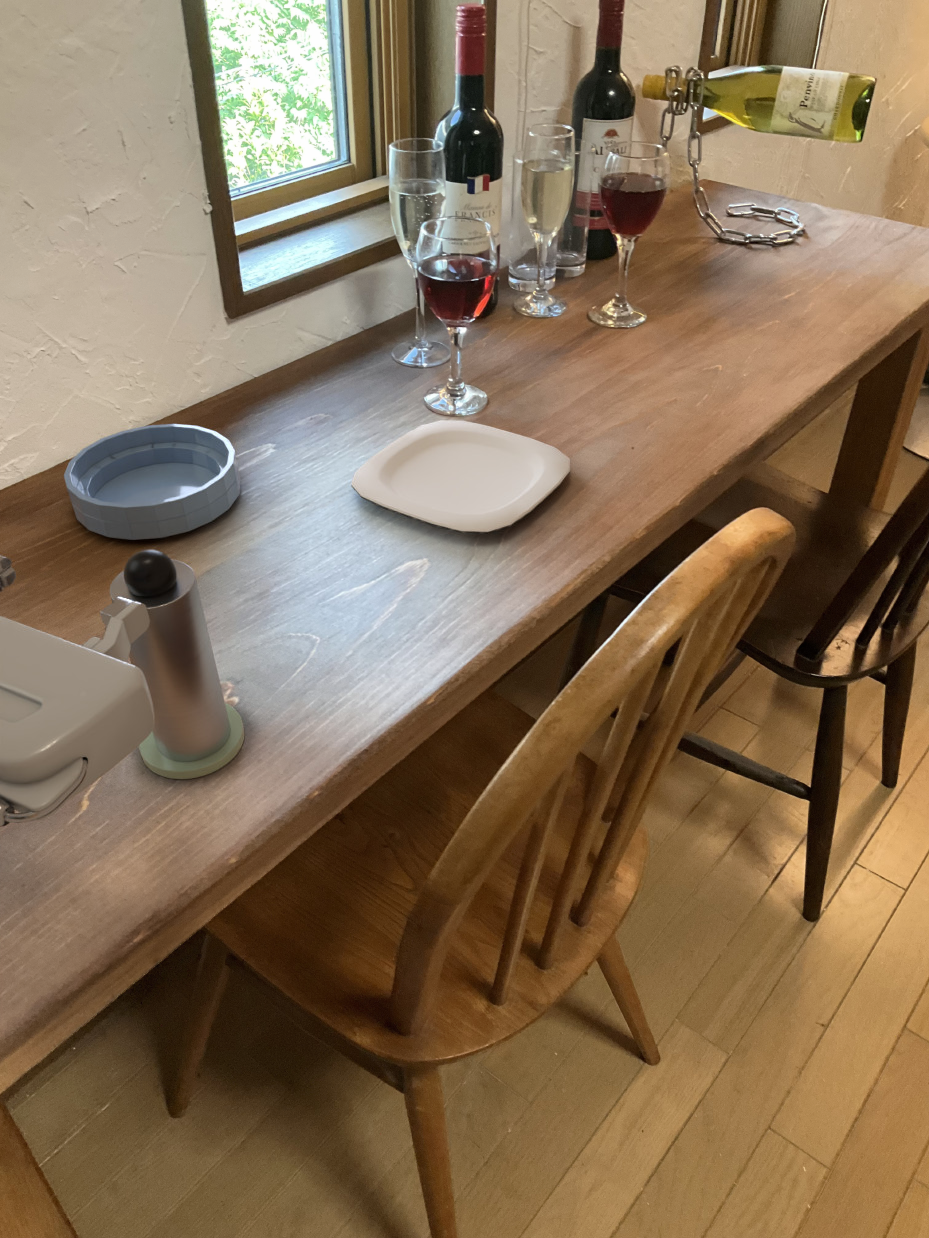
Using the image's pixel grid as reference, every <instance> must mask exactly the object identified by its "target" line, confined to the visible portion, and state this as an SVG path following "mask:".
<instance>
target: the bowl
mask: <svg viewBox="0 0 929 1238" xmlns="http://www.w3.org/2000/svg"><path fill="white" fill-rule="evenodd" d="M63 478H64V482H65V486H66V490H67V492H68V496H69V500H70V502H71V505H72V508H73V512H74V515H75V518H76V519H77V522H79V523H80V524H82V525H83V526H84V527H85V528H86V529H87V530H88V531H90V532H93V533H95V534H99V535H101V536H103V537H107V538H111V539H120V540H131V541H137V540H149V539H163V538H167V537H170V536H175V535H179V534H184V533H187V532H190V531H193V530H195V529H198V528H200V527H202V526H204V525H207V524H208V523H211V522H213V521H214V520H216V519H217V518H219V517H220V516H221V515H223V514H224V513H226V511H228V510H229V509H230V508H231V507H232V505H233V504H234V502H235V501H236V500H237V499H238V497H239V495H240V491H241V483H242V480H241V475H240V469H239V464H238V459H237V453H236V450H235V448H234V446H233V444H232V443H231V441H230V440H229V438H227V437H225V436H224V435H222V434H221V433H219V432H218V431H216V430H213V429H209V428H205V427H203V426H199V425H194V424H193V425H191V424H179V423H165V424H150V425H144V426H139V427H136V428H135V427H134V428H130V429H125V430H121V431H119V432H116V433H113V434H111V435H108V436H107V435H106V436H104V437H102V438H100V439H98V440H96V441H94V442H92V443H91V444H89V445H87V446H86V447H84V448H82V449H81V450H80V451H79V452H78V453H77V454H76V455H75V456H74V457H73V458H72V459H70V460H69V462H68V464H67V467H66V469H65V472H64V474H63Z"/></svg>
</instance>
